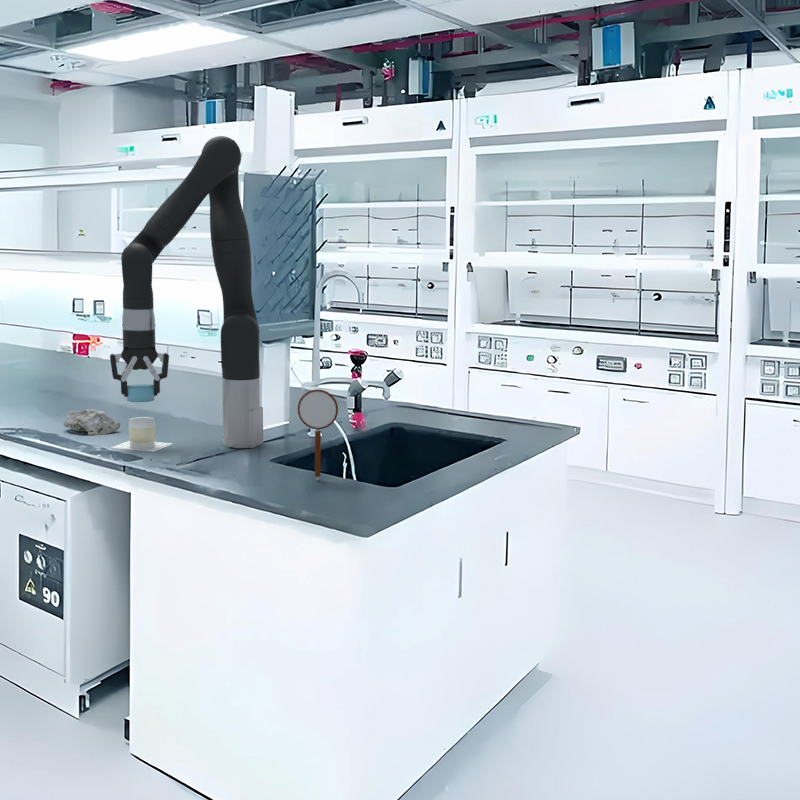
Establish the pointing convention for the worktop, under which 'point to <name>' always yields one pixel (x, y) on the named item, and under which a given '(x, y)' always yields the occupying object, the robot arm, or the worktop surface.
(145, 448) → the jar
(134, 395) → the cap
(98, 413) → the mineral specimen
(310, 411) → the magnifying glass
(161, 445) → the mat
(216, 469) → the worktop surface
